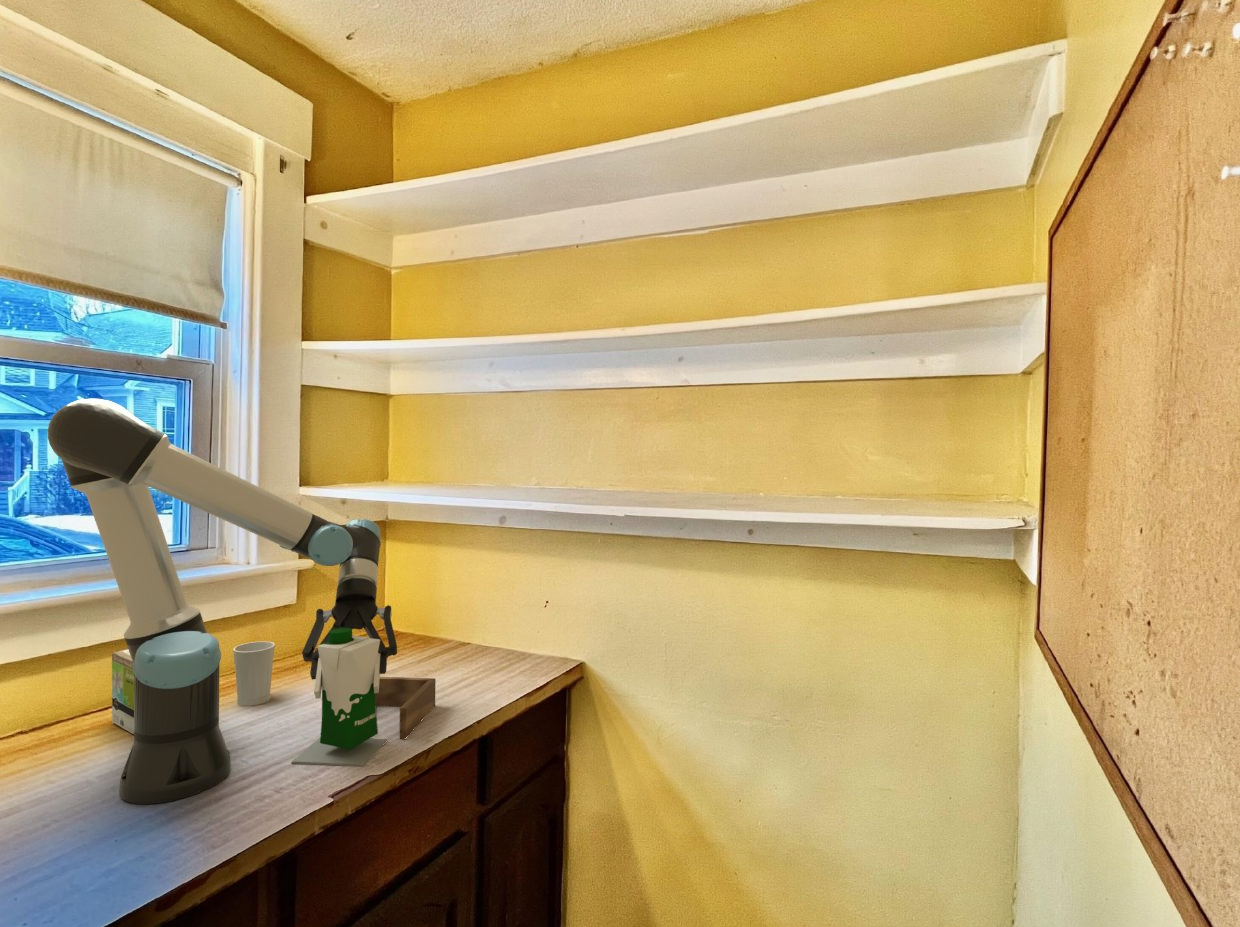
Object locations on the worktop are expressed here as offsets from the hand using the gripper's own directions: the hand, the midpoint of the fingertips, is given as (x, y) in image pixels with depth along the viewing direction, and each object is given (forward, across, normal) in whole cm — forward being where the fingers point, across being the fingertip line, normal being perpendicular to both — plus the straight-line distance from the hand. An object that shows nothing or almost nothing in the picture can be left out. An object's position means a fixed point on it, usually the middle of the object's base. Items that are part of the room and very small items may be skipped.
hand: (347, 692), depth 113 cm
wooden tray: (-3, -6, -20) cm, 21 cm away
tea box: (-9, +38, -27) cm, 48 cm away
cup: (-16, +23, -33) cm, 43 cm away
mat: (+6, +1, -11) cm, 12 cm away
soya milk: (+5, 0, -9) cm, 10 cm away
